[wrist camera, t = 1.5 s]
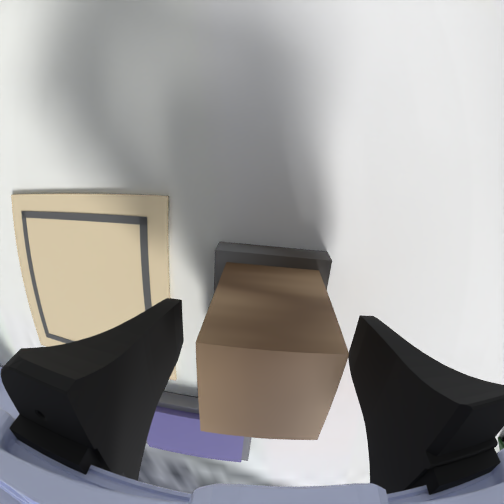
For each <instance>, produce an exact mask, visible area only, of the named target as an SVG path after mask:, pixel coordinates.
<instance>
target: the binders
mask: <svg viewBox="0 0 504 504" xmlns="http://www.w3.org/2000/svg"><path fill="white" fill-rule="evenodd" d="M498 441H499V447H500V450H502V449H503V448H504V441H503V442H502V440H501V438H500V437H499V438H498Z"/></svg>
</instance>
